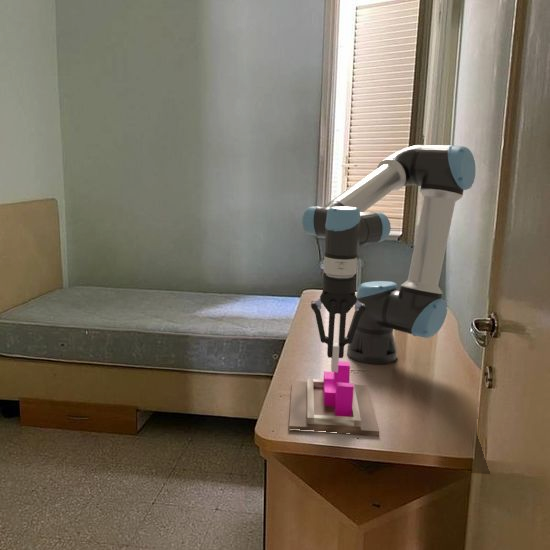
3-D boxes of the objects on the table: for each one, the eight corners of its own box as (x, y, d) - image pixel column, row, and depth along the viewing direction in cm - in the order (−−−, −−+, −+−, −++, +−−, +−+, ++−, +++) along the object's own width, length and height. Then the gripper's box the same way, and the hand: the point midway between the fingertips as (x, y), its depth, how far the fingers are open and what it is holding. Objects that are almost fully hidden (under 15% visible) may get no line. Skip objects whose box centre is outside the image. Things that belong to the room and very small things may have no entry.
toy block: (323, 387, 139) (324, 360, 138) (347, 388, 139) (349, 361, 137) (324, 415, 125) (326, 385, 123) (351, 416, 124) (353, 386, 123)
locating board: (367, 389, 142) (368, 379, 141) (379, 436, 119) (380, 425, 118) (292, 385, 143) (292, 375, 142) (288, 430, 120) (289, 419, 119)
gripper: (311, 277, 120) (307, 374, 125) (370, 279, 119) (363, 377, 125) (311, 269, 127) (307, 362, 133) (366, 271, 126) (360, 364, 132)
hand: (334, 369), depth 129 cm, fingers closed
